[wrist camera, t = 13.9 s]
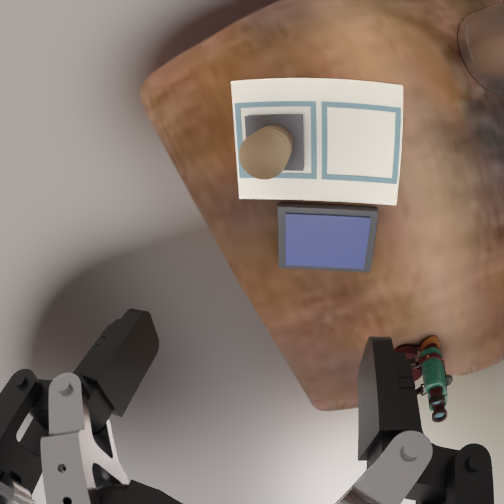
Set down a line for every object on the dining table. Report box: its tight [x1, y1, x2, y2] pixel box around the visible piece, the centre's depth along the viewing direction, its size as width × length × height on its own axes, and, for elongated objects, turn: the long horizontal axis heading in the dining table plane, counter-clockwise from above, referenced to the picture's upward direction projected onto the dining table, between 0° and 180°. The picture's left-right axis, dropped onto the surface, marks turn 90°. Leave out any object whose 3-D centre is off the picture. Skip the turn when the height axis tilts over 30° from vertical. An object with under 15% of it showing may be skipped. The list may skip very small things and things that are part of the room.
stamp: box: [239, 114, 304, 179], centre depth 23 cm, size 5×5×8 cm
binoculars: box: [394, 336, 453, 422], centre depth 33 cm, size 9×11×10 cm
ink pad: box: [278, 203, 378, 272], centre depth 30 cm, size 10×7×2 cm
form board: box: [231, 78, 403, 205], centre depth 26 cm, size 16×12×1 cm
